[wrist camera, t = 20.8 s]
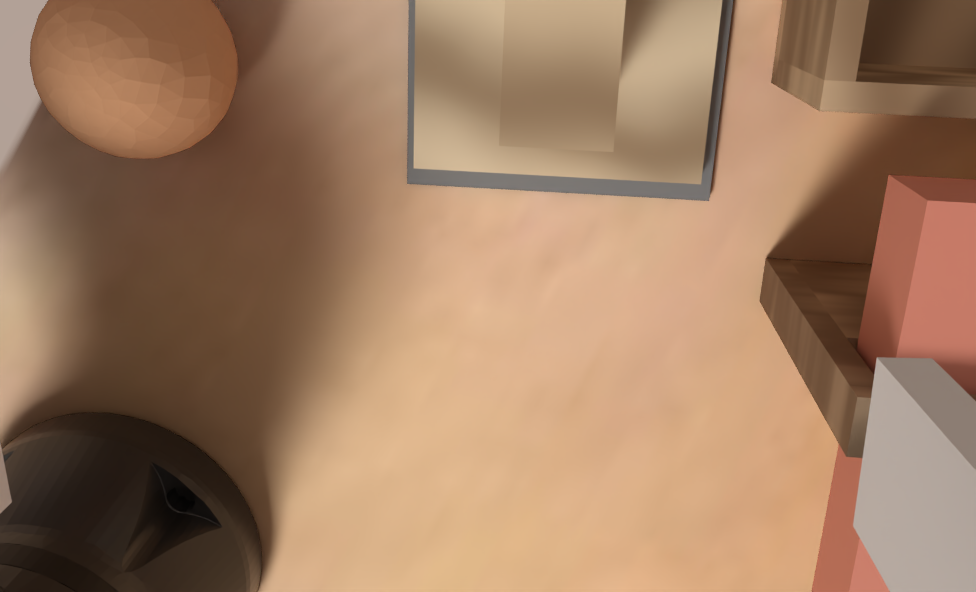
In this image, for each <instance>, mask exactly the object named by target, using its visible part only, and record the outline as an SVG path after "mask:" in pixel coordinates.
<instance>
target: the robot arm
mask: <svg viewBox="0 0 976 592" xmlns="http://www.w3.org/2000/svg"><path fill="white" fill-rule="evenodd" d="M853 527H854V529H855V530H856V532H857V534H858V536H859V537H860V539H861V541H862V543H863V545H864V546H865V548H866V550H867V552H868V553H869V555H870V557H871V559H872V561H873V562H874V564H875V566H876V568H877V569H878V571H879V573H880V575H881V577H882V578H883V580H884V582H885V584H886V585H887V587H888V589H889V591H890V592H976V401H975V400H974V399H973V398H972V397H971V396H970V395H969V394H968V393H967V392H966V391H965V390H964V389H963V388H962V387H961V386H960V385H959V384H958V383H957V382H956V381H955V380H954V379H953V378H952V377H951V376H950V375H949V374H948V373H947V372H946V371H945V370H944V369H943V368H941V367H940V366H939V365H938V364H937V363H936V362H935V361H934V360H933V359H932V358H887V357H877V359H876V367H875V374H874V381H873V388H872V395H871V402H870V409H869V416H868V423H867V430H866V437H865V444H864V451H863V458H862V465H861V472H860V479H859V486H858V493H857V501H856V508H855V515H854V522H853ZM261 567H262V554H261V545H260V539H259V535H258V531H257V527H256V524H255V522H254V519H253V516H252V514H251V512H250V509H249V507H248V505H247V504H246V502H245V500H244V498H243V496H242V495H241V493H240V492H239V490H238V489H237V487H236V486H235V485H234V483H233V482H232V481H231V479H230V478H229V477H228V476H227V475H226V473H225V472H224V471H223V470H222V469H221V468H220V467H219V466H218V465H217V464H216V463H215V462H214V461H213V460H212V459H211V458H209V457H208V456H207V455H206V454H205V453H203V452H202V451H201V450H200V449H198V448H197V447H195V446H194V445H193V444H191V443H190V442H188V441H186V440H185V439H183V438H182V437H180V436H178V435H176V434H174V433H172V432H170V431H168V430H166V429H164V428H162V427H159V426H157V425H154V424H152V423H149V422H146V421H143V420H139V419H136V418H132V417H128V416H122V415H116V414H107V413H80V414H71V415H66V416H61V417H57V418H53V419H50V420H47V421H45V422H42V423H40V424H38V425H35V426H33V427H31V428H30V429H28V430H26V431H25V432H23V433H22V434H20V435H19V436H17V437H16V438H15V439H14V440H12V441H11V442H10V443H9V444H8V445H6V446H5V447H4V448H3V449H2V448H1V443H0V592H257V590H258V586H259V582H260V577H261Z"/></svg>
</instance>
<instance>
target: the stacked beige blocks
mask: <svg viewBox="0 0 976 592" xmlns="http://www.w3.org/2000/svg"><path fill="white" fill-rule="evenodd" d="M721 8H722V0H415V79H414V168H415V169H433V170H451V171H469V172H487V173H505V174H523V175H541V176H559V177H577V178H596V179H614V180H632V181H650V182H668V183H686V184H701V180H702V171H703V163H704V154H705V145H706V137H707V128H708V120H709V111H710V103H711V94H712V85H713V77H714V68H715V60H716V51H717V43H718V34H719V25H720V17H721Z"/></svg>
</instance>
